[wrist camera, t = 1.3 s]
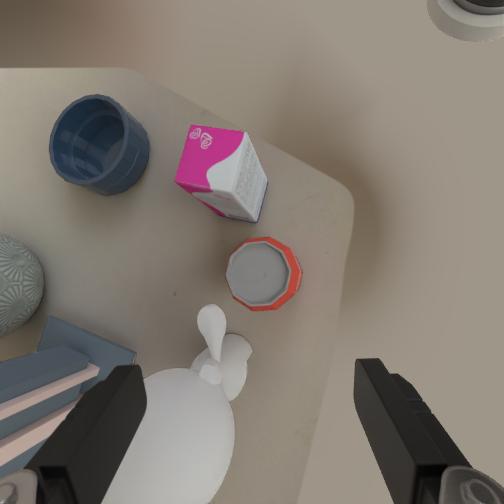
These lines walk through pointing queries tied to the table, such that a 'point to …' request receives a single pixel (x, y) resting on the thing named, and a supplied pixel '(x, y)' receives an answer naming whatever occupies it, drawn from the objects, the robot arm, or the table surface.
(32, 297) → the planter
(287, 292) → the beverage can
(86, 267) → the table surface
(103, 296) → the table surface
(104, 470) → the robot arm
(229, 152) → the supplement box
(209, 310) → the figurine
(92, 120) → the bowl
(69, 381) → the desk lamp
